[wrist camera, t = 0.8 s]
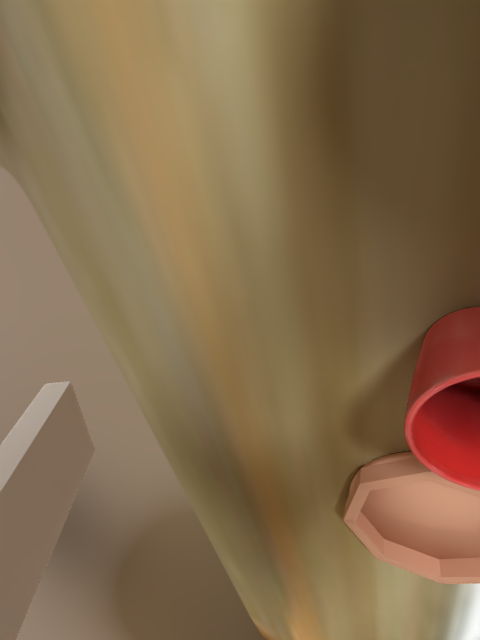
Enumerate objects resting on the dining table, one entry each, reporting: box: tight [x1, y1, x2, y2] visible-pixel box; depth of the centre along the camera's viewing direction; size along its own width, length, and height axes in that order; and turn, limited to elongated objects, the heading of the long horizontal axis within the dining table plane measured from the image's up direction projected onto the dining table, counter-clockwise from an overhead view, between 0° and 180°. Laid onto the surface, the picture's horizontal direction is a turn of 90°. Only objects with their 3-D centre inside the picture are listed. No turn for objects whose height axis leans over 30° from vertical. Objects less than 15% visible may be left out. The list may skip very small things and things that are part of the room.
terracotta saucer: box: [343, 451, 480, 584], centre depth 39 cm, size 18×18×3 cm
